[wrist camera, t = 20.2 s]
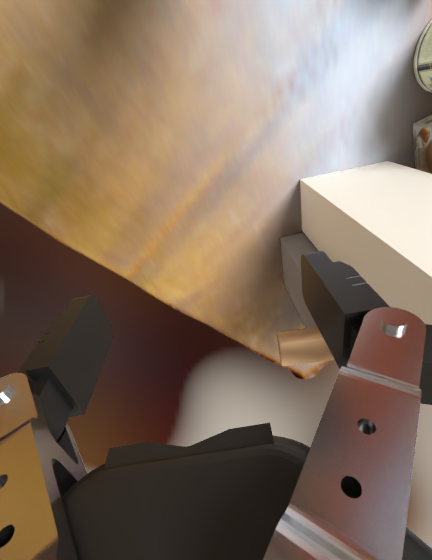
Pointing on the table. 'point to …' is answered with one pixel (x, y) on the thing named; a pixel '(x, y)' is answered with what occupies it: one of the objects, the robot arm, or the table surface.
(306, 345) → the oak block
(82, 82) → the table surface
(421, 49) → the coffee can
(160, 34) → the table surface
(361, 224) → the tall plinth
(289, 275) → the gray box
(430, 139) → the coffee box
